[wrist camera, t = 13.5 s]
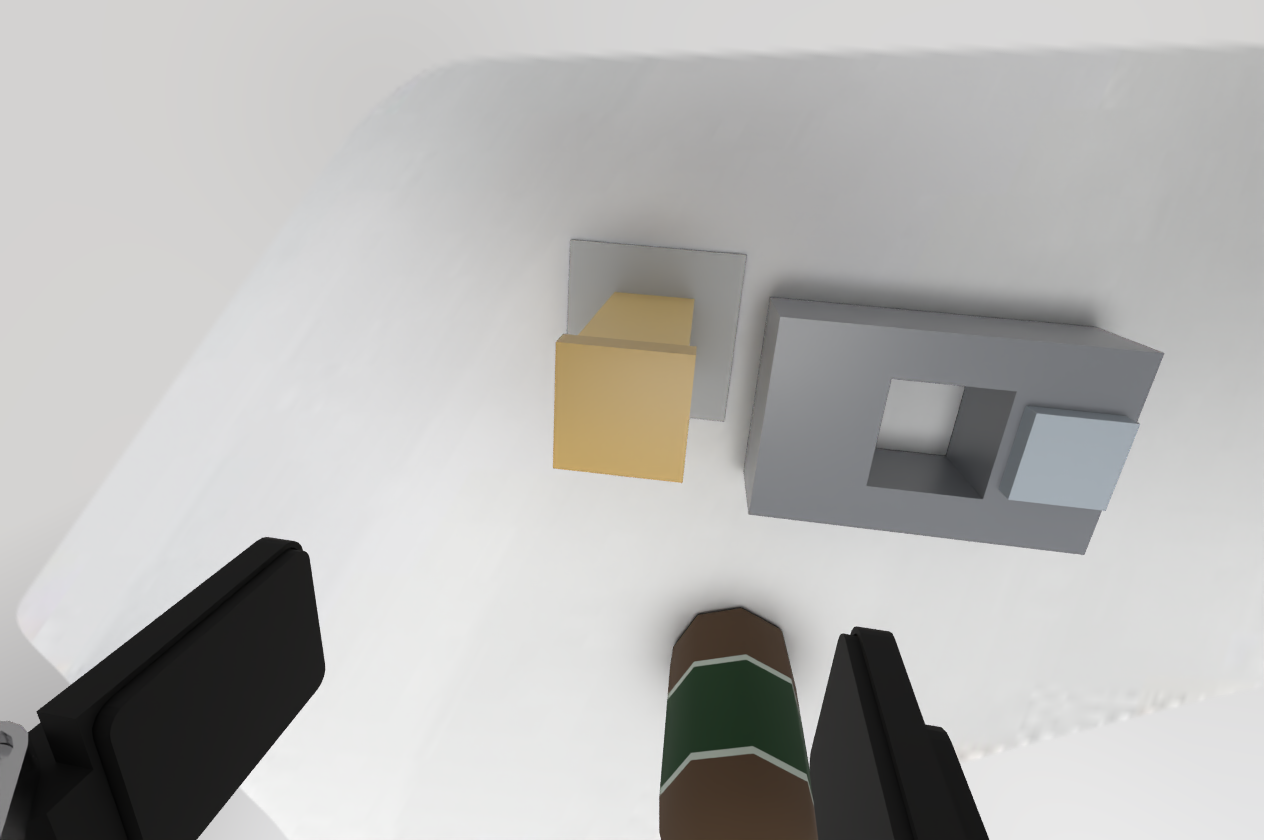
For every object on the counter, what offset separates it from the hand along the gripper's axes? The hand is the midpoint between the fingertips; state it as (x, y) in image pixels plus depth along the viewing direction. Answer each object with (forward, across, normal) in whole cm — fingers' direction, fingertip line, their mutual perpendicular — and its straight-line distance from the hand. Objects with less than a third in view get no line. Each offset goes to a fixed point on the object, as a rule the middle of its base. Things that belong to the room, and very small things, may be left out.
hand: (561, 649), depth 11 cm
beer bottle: (+25, -6, +21) cm, 33 cm away
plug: (+24, +1, 0) cm, 24 cm away
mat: (+24, +1, 0) cm, 25 cm away
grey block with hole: (+25, -13, +3) cm, 28 cm away
